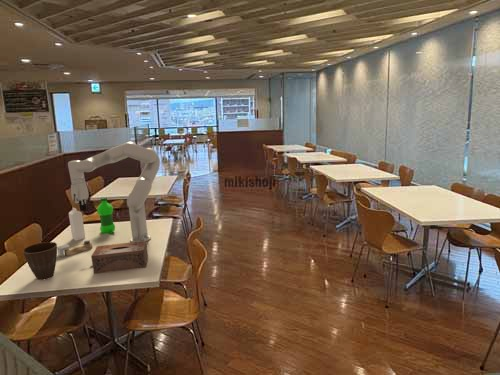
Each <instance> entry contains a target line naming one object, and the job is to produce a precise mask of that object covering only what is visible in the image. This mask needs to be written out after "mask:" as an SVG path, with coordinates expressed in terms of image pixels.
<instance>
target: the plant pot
mask: <svg viewBox="0 0 500 375" xmlns="http://www.w3.org/2000/svg"><path fill="white" fill-rule="evenodd" d="M57 247H58V244H57V243H56V242H55V241H47V242H45V241H43V242H39V243H35V244H32V245H29V246H27V247H25V248H23V250H22V252H23V255H24V257H25V261H26V263H27V266H28V267H29V269H30V271H31V272H32V273H33V275H34V277H35V278H36V279H37V280H39V281H45V280H48V278H49V279H51V278H53V276H54V275H55V271H56V266H57V260H58V259H57V258H58V249H57ZM44 279H45V280H44Z"/></svg>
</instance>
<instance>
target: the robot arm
mask: <svg viewBox="0 0 500 375" xmlns="http://www.w3.org/2000/svg"><path fill="white" fill-rule="evenodd" d="M127 158H130V159H133V160H137V161H139V162H142V163H145V165H144V167H143V169H142V171H141V173H140V175H139V177H138V178H137V180H136V182H135V184H134V186H133V187H132V190H131V192H130V193H129V194H128V196H127V198H126V205H127V207H128V212H129V221H130V228H131V230H130V231H131V236H132V237H131V238H129V241H130V242H139V241H146V242H148V241H150V240H151V235H149V234H148V227H147V226H148V224H147V216H146V215H147V214H146V206H145V201H146V200H147V198H148V196H149V195H150V192H151V190H152V185H153V182H154V180H155V178H156V176H157V174H158V171H159V169H160V164H161V163H160V162H161V161H160V157H159V155H158V153H157V151H156V150H155V149H154V148H152V147H147V148H146V147H145V146H141V145H138V144H137V143H136V142H134V141H127V142H124V143H122V144H119V145H117V146H114V147H111V148H109V149H107V150H105V151H103V152H100V153H97V154H95V155H92V156H90V157H87V158H86V159H84V160H79V159H76V160H74V159H73V160H70V161H68V163H67V167H68V172H69V177H70V182H71V185H70V196H71V200H72V201H73V202H74V204H78V205H79V212H85V211H87V200H89V197H90V196H89V195H90V194H89V189H88V185H87V182H86V178H85V174H84V173H90V172H93V171H94V170H96V169H98V168H100V167H103V166H105V165H109V164H114V163H117V162H119V161H123V160H125V159H127ZM130 242H129V243H130Z"/></svg>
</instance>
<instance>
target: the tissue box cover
mask: <svg viewBox="0 0 500 375" xmlns="http://www.w3.org/2000/svg"><path fill="white" fill-rule="evenodd" d="M147 245H148V244H147V241H139V242H123V243H114V244H105V245H104V244H103V245H97V246H96V247H95V249H94V251H93V252H92V254H91V256H90V257H91V264H92V271H93V274H94V275H96V274H104V273H112V272H119V271H121V272H122V271H128V270H136V269H137V270H138V269H144V268H145V269H146V268H147V263H148V259H149V255H148V246H147Z"/></svg>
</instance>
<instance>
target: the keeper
mask: <svg viewBox="0 0 500 375" xmlns="http://www.w3.org/2000/svg"><path fill="white" fill-rule="evenodd" d="M69 248H71V246H70V245H69V244H68V243H67V244H64V245H60V246H57V256H59V257H60V258H64V257H65V253H64V250H66V249H69Z"/></svg>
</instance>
